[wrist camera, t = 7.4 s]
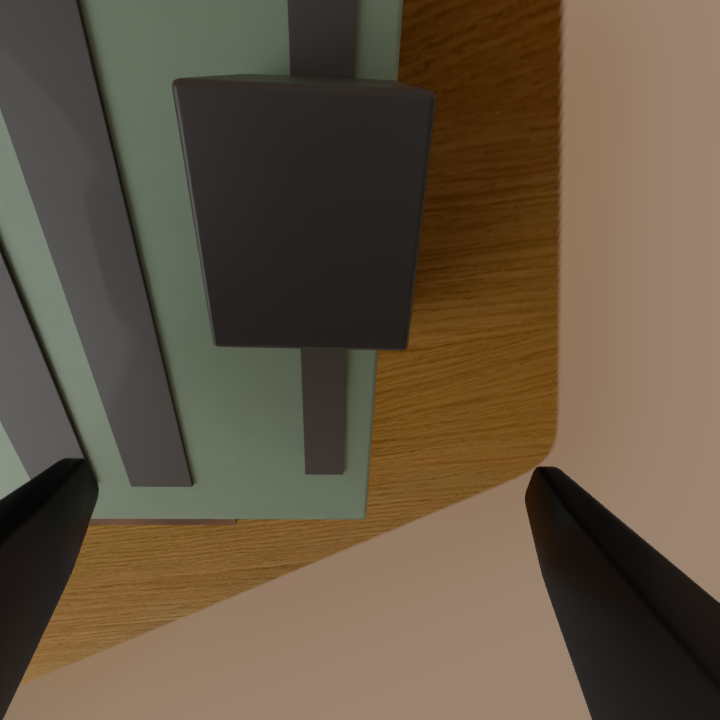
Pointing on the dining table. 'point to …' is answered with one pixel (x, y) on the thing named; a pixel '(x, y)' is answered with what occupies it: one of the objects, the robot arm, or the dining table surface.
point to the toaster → (160, 266)
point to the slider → (306, 206)
